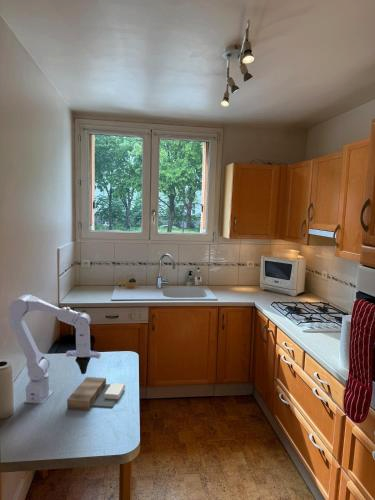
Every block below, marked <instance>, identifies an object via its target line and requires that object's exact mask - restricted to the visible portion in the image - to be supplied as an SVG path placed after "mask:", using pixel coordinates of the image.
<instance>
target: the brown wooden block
mask: <svg viewBox="0 0 375 500" xmlns="http://www.w3.org/2000/svg"><path fill="white" fill-rule="evenodd" d="M106 385H107V378H106V377H96V376H95V377H94V376H93V377H92V376H86V377H85V378H84V380H82V382H80V384H79V385H78V386H77V387H76V389H75V390H74V391H73V392H72V393H71V395H70V396H69V397H68V398H67V399H66V404H67V405H66V407H67V410H74V411H75V410H76V411H86V412H87V411H89V412H90V410H91V409H92V407H93V406H92V404H93V403H94V402H95V400H96V399H97V397H98V396H99V395H100V393H101V392H102V390H103V389H104V388H105V386H106Z"/></svg>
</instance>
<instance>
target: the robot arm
mask: <svg viewBox="0 0 375 500" xmlns="http://www.w3.org/2000/svg"><path fill="white" fill-rule="evenodd" d="M8 310H9V311H8V313H9V314H8V323H9V325H10V328H11V329H12V332H13V334H14V335H15V338H16V340H17V342H18V345H19V346H20V348H21V350H22V352H23V354H24V356H25V358H26V368H27V376H28V378H29V382H28V383H27V385H26V387H25V397H26V399H25V400H24V403H26V404H27V403H28V404H29V403H30V404H44V402H46V401H47V400H48V398H49V397H51V395H53V394H54V392H55V391H54V390H50V378H49V377H50V374H49V371H48V369H49V368H50V365H51V363H50V361H49V360H50V359H48V358H47V357H46V356H45V355H44V353H43V352H41V351H39V348H38V347H37V344H36V342H35V340H34V338H33V336H32V334H31V331H30V330H29V327H28V325H27V323H26V321H25V317H26V315H27V313H30V312H34V311H40V312H43V313H46V314H49V315H52V316H56V317H57V320H58V321H60V322H63V323H65V324H68V325H71V326H74V329H75V349H76V350H75V349H74V350H67V351H65V355H66V356H65V357H66V358H69V357H76V358H75V363H76V364H77V365H78V368H79V370H80V373H81V375H85V374H86V373H87V369H88V365H89V362H90V361H91V358H92V359H93V358H94V359H96V360H97V359H100V358H101V357H102V356H101V355H102V354H101V352H99V351H94V350H91V332H90V329H91V328H90V324H91V316H90V315H89V314H88V313H87V312H81V311H76V310H73V309H71V307H69V306H64V307H58V306H56V305H53V304H52V303H49V302H47V301H44V300H43V299H40V298H39V297H37V296H35V295H31V294H29V293H24V294H21V295H20V296H19V297H18V298H15V299H13V301H11V303H10V304H9V307H8Z"/></svg>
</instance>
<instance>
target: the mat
mask: <svg viewBox="0 0 375 500" xmlns="http://www.w3.org/2000/svg"><path fill="white" fill-rule="evenodd" d="M111 384H112V383H111ZM111 384H109V383H106V386H105V388H104V389H103V390H102V392H101V393H100V395H99V396H98V397H97V399H96V400H95V402H94V403H93V404H92V407H94V408H96V407H97V408H106V409H107V408H110V409H113V407H114V406H115V404H116V402H117V401H118V399H107V398H105V392H106V391H107V389H108V388H109V387H110V385H111Z"/></svg>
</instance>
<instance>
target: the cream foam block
mask: <svg viewBox="0 0 375 500" xmlns="http://www.w3.org/2000/svg"><path fill="white" fill-rule="evenodd" d="M125 389H126V384H125V383H115V382H111V385H110V387H109V388H108V389H107V391H106V392H105V398H107V399H117V400H119V399H120V398H121V396H122V394H123V392H124V391H125Z"/></svg>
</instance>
